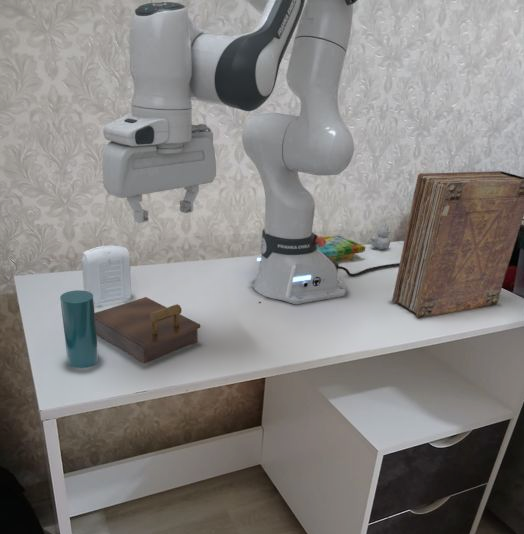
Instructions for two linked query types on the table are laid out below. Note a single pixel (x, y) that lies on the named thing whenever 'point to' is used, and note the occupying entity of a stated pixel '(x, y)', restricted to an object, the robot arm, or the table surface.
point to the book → (459, 241)
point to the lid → (147, 321)
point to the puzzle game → (340, 248)
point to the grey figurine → (381, 238)
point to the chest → (140, 351)
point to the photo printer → (107, 273)
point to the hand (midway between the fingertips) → (164, 216)
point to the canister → (79, 328)
